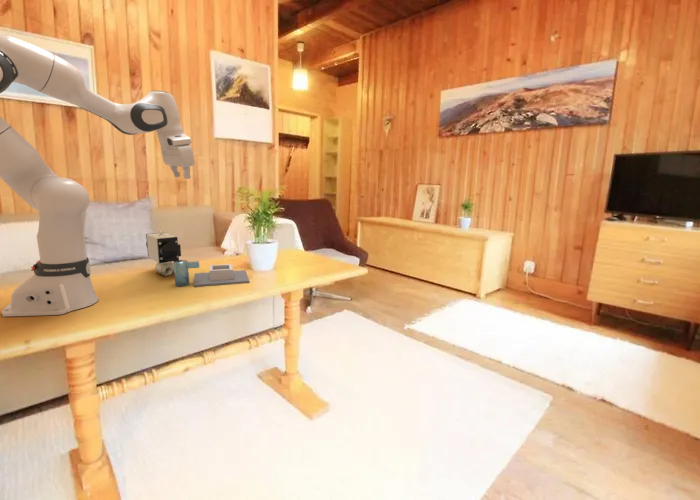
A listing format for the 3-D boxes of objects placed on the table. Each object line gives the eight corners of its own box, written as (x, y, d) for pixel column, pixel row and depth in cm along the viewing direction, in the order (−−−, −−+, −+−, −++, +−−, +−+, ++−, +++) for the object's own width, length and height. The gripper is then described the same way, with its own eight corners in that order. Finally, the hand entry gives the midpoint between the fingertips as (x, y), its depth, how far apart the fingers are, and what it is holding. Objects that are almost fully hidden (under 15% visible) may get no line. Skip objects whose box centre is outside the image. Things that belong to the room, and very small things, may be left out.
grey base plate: (193, 287, 131) (192, 274, 130) (194, 275, 145) (194, 263, 144) (249, 282, 138) (249, 270, 137) (245, 271, 153) (245, 261, 152)
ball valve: (185, 276, 143) (182, 233, 139) (162, 280, 137) (159, 235, 133) (168, 267, 155) (166, 227, 151) (147, 270, 149) (143, 229, 145)
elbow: (174, 287, 130) (172, 263, 128) (175, 283, 134) (174, 260, 132) (200, 285, 133) (198, 262, 131) (200, 281, 137) (199, 259, 135)
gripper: (153, 140, 133) (163, 177, 139) (174, 140, 120) (185, 181, 125) (170, 138, 138) (179, 174, 143) (192, 138, 124) (202, 177, 129)
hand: (182, 177), depth 134 cm, fingers open, 8 cm apart
